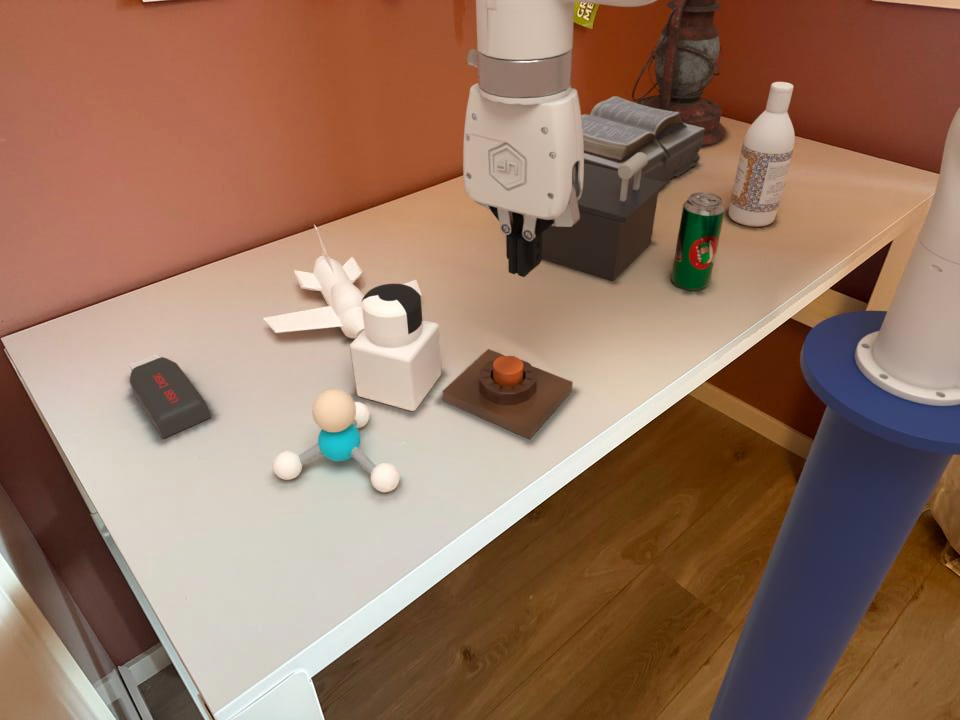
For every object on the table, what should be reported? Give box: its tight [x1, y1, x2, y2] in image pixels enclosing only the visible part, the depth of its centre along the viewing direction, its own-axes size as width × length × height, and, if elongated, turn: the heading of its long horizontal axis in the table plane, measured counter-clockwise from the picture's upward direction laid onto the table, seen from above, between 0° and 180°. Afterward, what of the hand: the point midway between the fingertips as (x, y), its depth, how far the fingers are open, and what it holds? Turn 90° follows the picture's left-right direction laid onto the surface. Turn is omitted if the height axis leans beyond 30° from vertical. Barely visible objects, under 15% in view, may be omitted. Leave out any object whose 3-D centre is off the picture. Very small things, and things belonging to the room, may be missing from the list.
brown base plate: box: [442, 348, 573, 440], centre depth 77 cm, size 11×9×3 cm
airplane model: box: [262, 224, 423, 339], centre depth 90 cm, size 20×20×8 cm
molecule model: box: [272, 388, 401, 493], centre depth 68 cm, size 12×12×9 cm
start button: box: [493, 355, 523, 386], centre depth 76 cm, size 3×3×2 cm
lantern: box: [631, 0, 726, 148], centre depth 131 cm, size 19×19×30 cm
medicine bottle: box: [349, 283, 442, 412], centre depth 76 cm, size 7×7×12 cm
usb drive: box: [129, 353, 212, 440], centre depth 78 cm, size 5×12×3 cm, turn 39°
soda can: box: [670, 191, 726, 291], centre depth 92 cm, size 5×5×12 cm
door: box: [577, 152, 666, 223], centre depth 96 cm, size 15×13×6 cm
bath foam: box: [728, 81, 796, 228], centre depth 104 cm, size 7×7×20 cm
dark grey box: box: [541, 193, 659, 282], centre depth 101 cm, size 15×13×9 cm
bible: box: [581, 95, 705, 185], centre depth 122 cm, size 23×27×10 cm
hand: (524, 268), depth 69 cm, fingers closed
